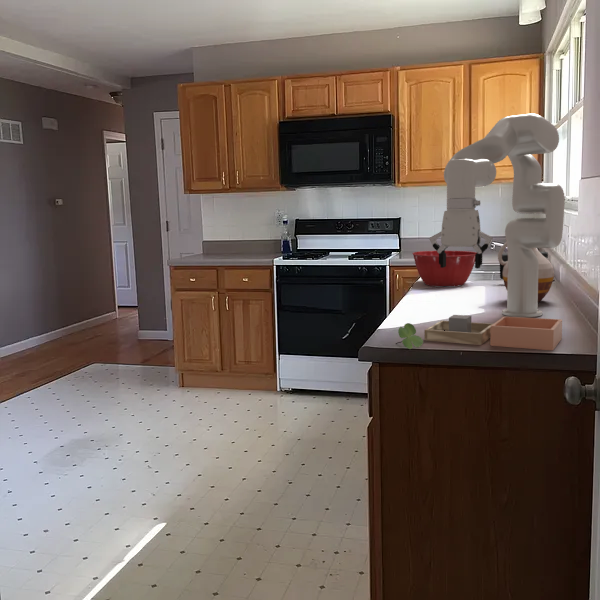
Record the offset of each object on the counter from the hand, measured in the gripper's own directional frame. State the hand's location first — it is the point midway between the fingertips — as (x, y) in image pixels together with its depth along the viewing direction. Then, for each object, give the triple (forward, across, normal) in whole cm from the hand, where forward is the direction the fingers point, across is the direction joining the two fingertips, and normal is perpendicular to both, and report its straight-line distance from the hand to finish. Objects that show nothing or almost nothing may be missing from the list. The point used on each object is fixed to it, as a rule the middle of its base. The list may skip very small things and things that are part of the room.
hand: (460, 267), depth 181 cm
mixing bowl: (+19, +36, -105) cm, 113 cm away
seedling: (+20, +13, +15) cm, 28 cm away
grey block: (+20, 0, 0) cm, 20 cm away
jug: (+19, -5, -69) cm, 72 cm away
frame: (+20, 0, 0) cm, 20 cm away
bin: (+20, -18, 0) cm, 27 cm away
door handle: (+19, +4, -115) cm, 117 cm away
